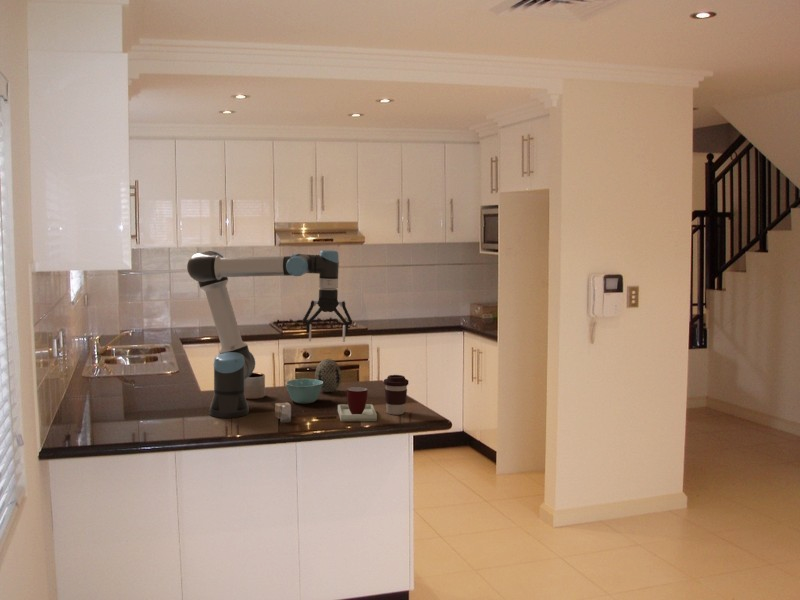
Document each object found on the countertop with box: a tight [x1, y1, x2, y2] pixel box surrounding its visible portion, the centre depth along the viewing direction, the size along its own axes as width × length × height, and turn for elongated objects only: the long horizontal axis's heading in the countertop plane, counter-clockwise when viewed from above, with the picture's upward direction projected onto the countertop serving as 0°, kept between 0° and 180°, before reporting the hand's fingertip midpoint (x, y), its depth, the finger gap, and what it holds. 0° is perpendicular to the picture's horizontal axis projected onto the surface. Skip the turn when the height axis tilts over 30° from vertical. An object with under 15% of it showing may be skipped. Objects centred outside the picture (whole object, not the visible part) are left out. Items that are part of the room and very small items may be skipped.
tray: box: [337, 403, 378, 422], centre depth 325 cm, size 14×17×2 cm
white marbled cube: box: [274, 402, 291, 419], centre depth 320 cm, size 5×5×5 cm
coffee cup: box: [383, 374, 409, 416], centre depth 330 cm, size 10×10×15 cm
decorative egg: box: [314, 358, 342, 393], centre depth 365 cm, size 12×12×15 cm
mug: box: [346, 386, 368, 414], centre depth 324 cm, size 10×8×10 cm
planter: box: [244, 372, 266, 400], centre depth 353 cm, size 11×11×10 cm
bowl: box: [285, 378, 323, 404], centre depth 347 cm, size 16×16×8 cm
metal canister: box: [279, 404, 292, 424], centre depth 314 cm, size 4×4×6 cm
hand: (326, 341), depth 331 cm, fingers open, 13 cm apart
